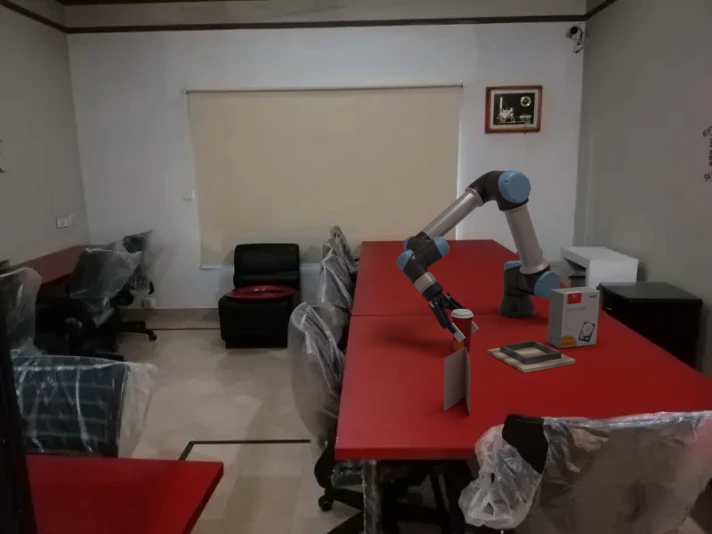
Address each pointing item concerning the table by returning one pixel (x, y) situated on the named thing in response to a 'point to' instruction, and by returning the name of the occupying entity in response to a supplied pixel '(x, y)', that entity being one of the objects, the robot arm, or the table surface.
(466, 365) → the greeting card
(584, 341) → the hard drive box
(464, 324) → the paper cup
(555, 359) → the seat plate
